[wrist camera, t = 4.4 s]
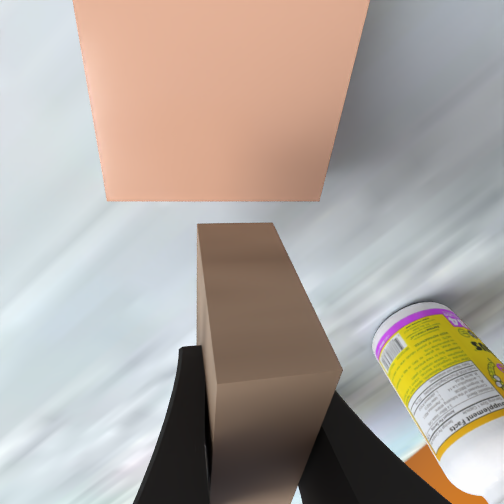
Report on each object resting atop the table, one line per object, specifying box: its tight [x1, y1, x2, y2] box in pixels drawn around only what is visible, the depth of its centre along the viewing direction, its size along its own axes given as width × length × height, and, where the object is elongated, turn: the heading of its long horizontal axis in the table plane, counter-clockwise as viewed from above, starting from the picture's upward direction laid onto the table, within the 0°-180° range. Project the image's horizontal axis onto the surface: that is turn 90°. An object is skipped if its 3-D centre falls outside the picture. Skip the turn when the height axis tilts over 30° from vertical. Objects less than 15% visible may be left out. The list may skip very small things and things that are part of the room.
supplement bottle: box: [372, 302, 504, 504], centre depth 21 cm, size 7×7×13 cm
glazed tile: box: [73, 0, 370, 201], centre depth 13 cm, size 2×9×9 cm
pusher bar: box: [197, 223, 343, 504], centre depth 11 cm, size 8×2×6 cm, turn 174°
